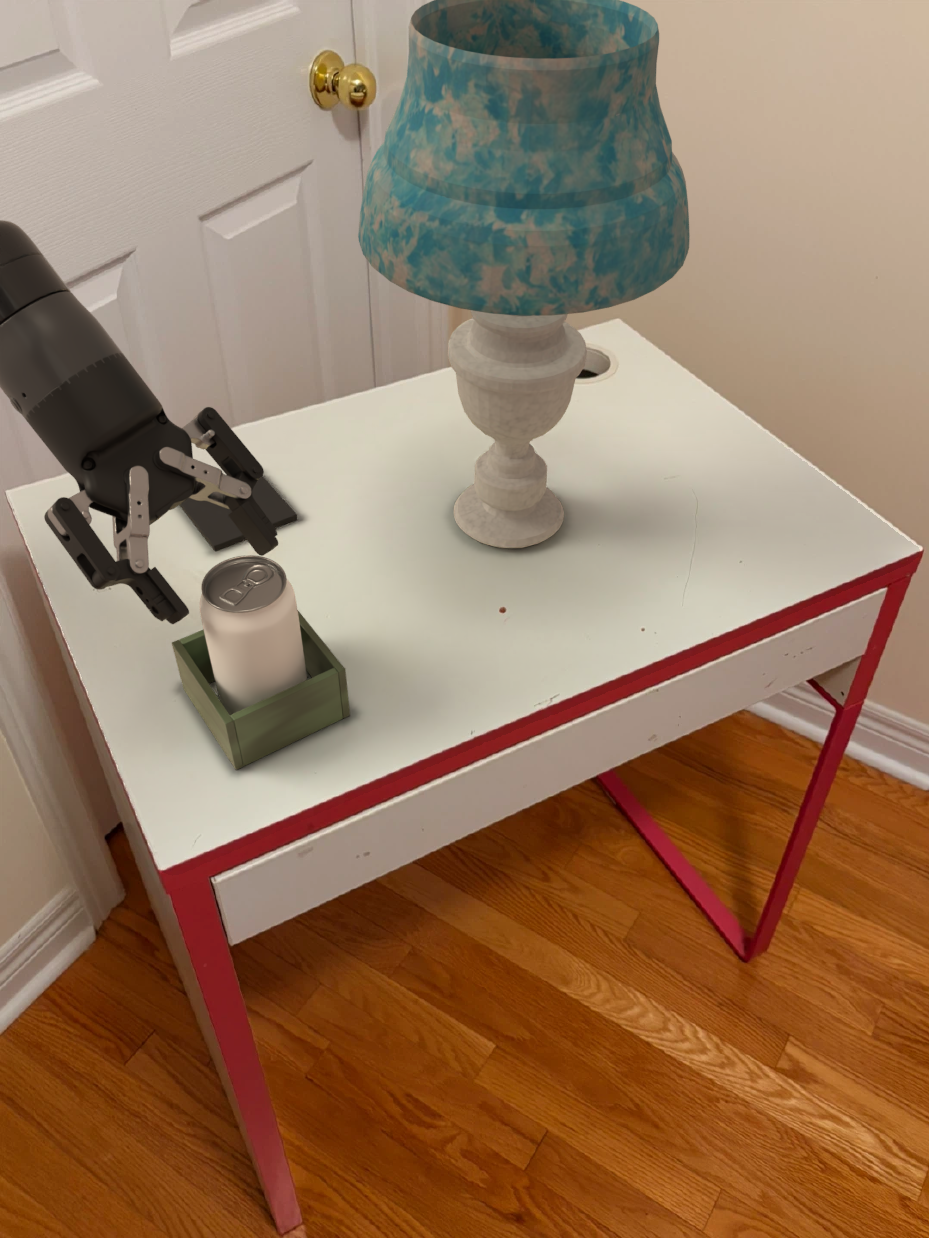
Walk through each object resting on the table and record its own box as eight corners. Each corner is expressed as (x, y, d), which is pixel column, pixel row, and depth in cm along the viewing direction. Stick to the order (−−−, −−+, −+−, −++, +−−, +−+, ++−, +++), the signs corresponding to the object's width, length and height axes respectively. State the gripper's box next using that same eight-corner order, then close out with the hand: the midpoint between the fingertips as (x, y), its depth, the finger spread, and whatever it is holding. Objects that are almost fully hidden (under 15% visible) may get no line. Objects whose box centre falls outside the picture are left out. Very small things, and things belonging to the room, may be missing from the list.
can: (327, 692, 79) (312, 573, 70) (271, 749, 75) (249, 629, 67) (260, 658, 81) (239, 539, 73) (203, 711, 77) (173, 591, 69)
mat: (214, 551, 90) (213, 546, 90) (177, 503, 95) (176, 498, 95) (297, 519, 94) (296, 514, 93) (258, 474, 98) (257, 469, 98)
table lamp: (687, 576, 89) (796, 62, 61) (414, 632, 83) (398, 98, 56) (582, 424, 105) (631, -36, 77) (349, 463, 100) (312, -15, 72)
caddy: (235, 770, 74) (225, 724, 70) (183, 688, 79) (171, 642, 75) (350, 715, 77) (345, 668, 74) (292, 641, 83) (286, 594, 79)
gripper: (-7, 411, 61) (170, 632, 64) (174, 313, 69) (322, 513, 72) (-35, 455, 66) (129, 656, 70) (135, 360, 75) (274, 543, 78)
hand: (227, 583), depth 71 cm, fingers open, 8 cm apart
